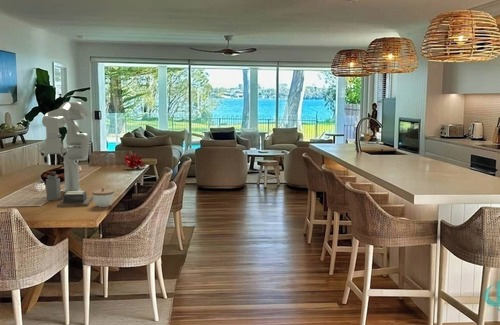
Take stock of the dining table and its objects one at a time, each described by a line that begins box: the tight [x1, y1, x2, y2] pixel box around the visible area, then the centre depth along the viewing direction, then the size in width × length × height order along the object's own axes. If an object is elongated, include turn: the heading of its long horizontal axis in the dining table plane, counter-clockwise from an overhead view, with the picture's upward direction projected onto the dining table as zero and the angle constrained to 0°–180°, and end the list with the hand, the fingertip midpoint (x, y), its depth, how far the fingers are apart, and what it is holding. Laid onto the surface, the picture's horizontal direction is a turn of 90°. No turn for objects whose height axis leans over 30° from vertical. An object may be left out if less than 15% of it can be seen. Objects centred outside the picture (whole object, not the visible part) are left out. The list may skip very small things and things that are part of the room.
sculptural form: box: [122, 150, 146, 170], centre depth 453 cm, size 20×24×21 cm
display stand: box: [56, 190, 93, 208], centre depth 305 cm, size 20×18×7 cm
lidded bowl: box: [92, 187, 114, 208], centre depth 298 cm, size 13×13×11 cm
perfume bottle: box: [45, 171, 62, 201], centre depth 316 cm, size 7×7×18 cm
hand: (54, 162), depth 308 cm, fingers open, 9 cm apart
